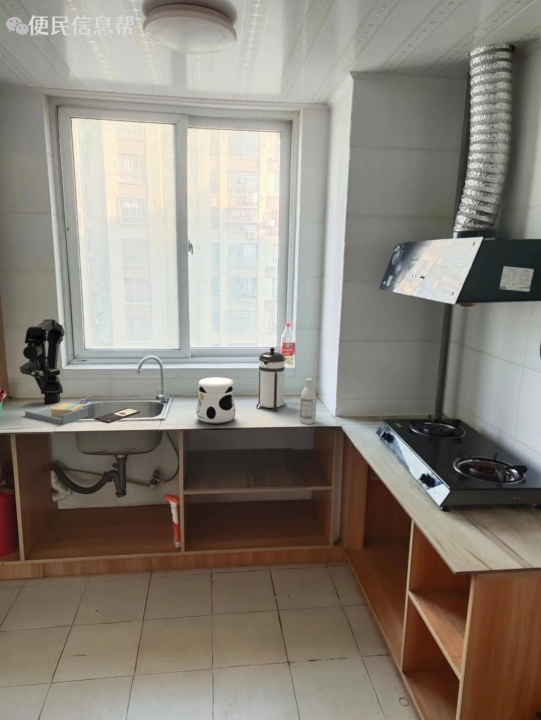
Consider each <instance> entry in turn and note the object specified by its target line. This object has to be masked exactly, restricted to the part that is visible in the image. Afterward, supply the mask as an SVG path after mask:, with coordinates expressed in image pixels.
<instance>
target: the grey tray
mask: <svg viewBox="0 0 541 720" xmlns="http://www.w3.org/2000/svg"><path fill="white" fill-rule="evenodd" d="M52 408H53V407H51V408H50V407H48V408H45V409H42V410H39V411H36V412H33V411H27V410H25V411H24V417H28V418H33V419H35V420H40V421H41V420H42V421H45V422H50V423H55V424H59V425H62V426H65V425H67V424H71V423H74V422H77V421H79V420H81V419H84V418H87V417H89V411H88V410H89V407H87V406H85V407H83V408H82V409H79V410H76V411H73V412H70V413H67V414H64V415H62V419H61V418H56V417H52V416H51V409H52Z"/></svg>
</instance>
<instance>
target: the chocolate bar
mask: <svg viewBox="0 0 541 720" xmlns="http://www.w3.org/2000/svg"><path fill="white" fill-rule="evenodd" d="M140 413H141V411H140V410H139V411H138V410H135V409H131V408H126V407H125V408H123V409H119V410H117V411H113V412H110V413H107V414H105V415H101V416H98V417H95V418H94V420H95V421H99V420H101V421H100V422H102V423H106V424H111V423H114V422H116V421H115V420H117V421H120V420H122V419H126V418H129V417H131V416H134V415H138V414H140ZM108 420H110V421H108Z"/></svg>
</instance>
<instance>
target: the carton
mask: <svg viewBox="0 0 541 720" xmlns="http://www.w3.org/2000/svg"><path fill="white" fill-rule="evenodd" d="M51 408H52V409H51V416H52V417H56V418H61V419H62V415H64V414H67V413H70V412H73V411H76V410H79V409H82V408H84V404H79V403H64V402H63V403H62V402H61V403H60V404H59V403H58V404H57V405H56V406H54V407H51Z"/></svg>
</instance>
